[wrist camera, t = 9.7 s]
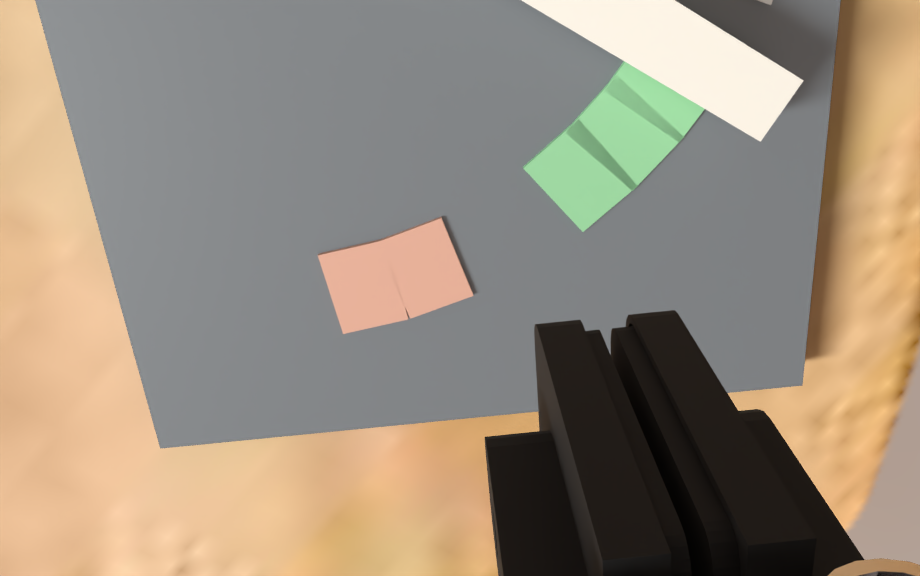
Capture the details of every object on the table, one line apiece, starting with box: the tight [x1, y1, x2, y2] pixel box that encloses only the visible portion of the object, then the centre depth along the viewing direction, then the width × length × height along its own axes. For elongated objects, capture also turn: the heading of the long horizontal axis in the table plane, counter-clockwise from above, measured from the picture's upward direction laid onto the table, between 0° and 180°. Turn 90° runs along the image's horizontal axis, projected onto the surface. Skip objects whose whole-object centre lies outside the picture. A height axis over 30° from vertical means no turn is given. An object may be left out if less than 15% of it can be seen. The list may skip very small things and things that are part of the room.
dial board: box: [35, 0, 841, 448], centre depth 26 cm, size 26×24×2 cm
